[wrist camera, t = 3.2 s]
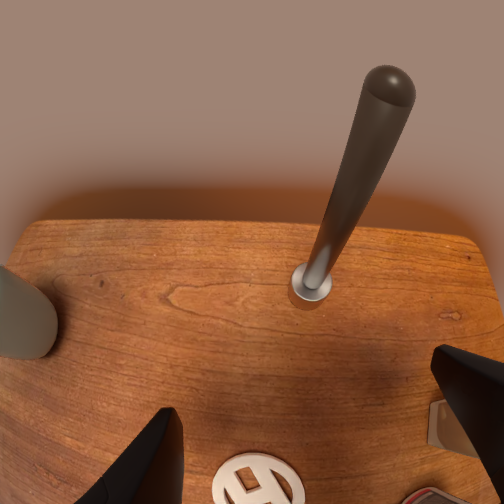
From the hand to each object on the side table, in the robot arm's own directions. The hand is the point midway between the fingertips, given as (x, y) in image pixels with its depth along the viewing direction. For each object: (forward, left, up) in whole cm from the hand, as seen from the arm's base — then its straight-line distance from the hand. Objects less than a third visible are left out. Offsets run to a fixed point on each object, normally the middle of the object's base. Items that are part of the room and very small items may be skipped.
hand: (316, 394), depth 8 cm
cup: (+14, +20, -15) cm, 28 cm away
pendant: (-9, +6, -14) cm, 18 cm away
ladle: (+6, -5, -14) cm, 16 cm away
